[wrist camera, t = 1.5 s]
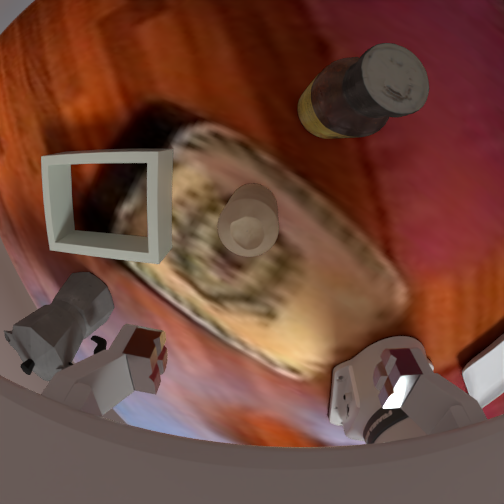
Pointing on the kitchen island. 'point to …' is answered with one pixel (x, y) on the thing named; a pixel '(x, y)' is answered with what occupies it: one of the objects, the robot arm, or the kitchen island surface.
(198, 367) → the kitchen island surface
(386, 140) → the kitchen island surface
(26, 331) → the coffeepot
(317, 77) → the sauce bottle
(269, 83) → the kitchen island surface
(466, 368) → the salad plate
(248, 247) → the candle
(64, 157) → the grey rectangular frame
